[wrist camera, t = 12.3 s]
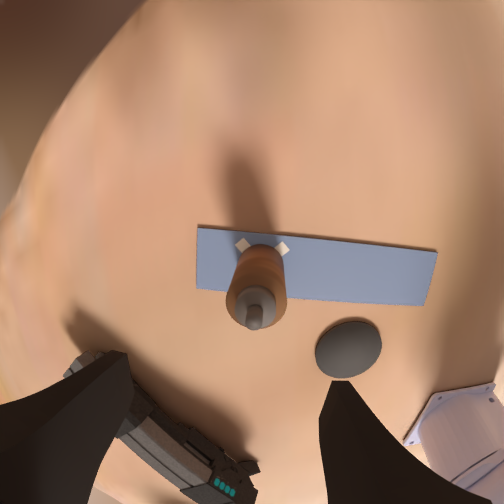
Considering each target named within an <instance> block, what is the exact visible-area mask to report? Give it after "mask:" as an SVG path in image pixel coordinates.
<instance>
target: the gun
mask: <svg viewBox="0 0 504 504" xmlns="http://www.w3.org/2000/svg"><path fill="white" fill-rule="evenodd" d="M103 355H105V354H104V353H101V352H99V353H98V354H97V355H96V356H95V358H94V357H93V356H92V355H91V353H90V352H89V351H86V352H85V353H83V354H82V355H80V356H79V357H77V358H76V359H75V360H74V362H73V363H72V364H71V365H70V368H68V369H67V371H66V372H65V373H64V375H63V377H64V378H67V377H68V376H70V375H72V374H74V373H75V372H77V371H79V370H80V369H82V368H84V367H85V366H87V365H88V364H90V363H92V362H93V361H95V360H96V359H98V358H100V357H101V356H103ZM132 383H133V388H134V392H135V394H134V397H133V399H132V402H131V405H130V407H129V410H128V413H127V415H126V417H125V419H124V421H123V423H122V425H121V426H120V428H119V430H118V432H117V434H116V436H115V437H116V438H117V439H118V438H119V439H120V440H121V441H123V442H124V443H125V444H126V445H127V446H128V447H129V448H130V449H131V450H132V451H133V452H135V453H136V454H137V455H138V456H139V457H140V458H141V459H143V460H144V461H145V462H146V463H147V464H148V465H150V466H151V467H152V468H153V469H155V470H156V471H157V472H158V473H160V474H161V475H162V476H163V477H165V478H166V479H167V480H169V481H170V482H171V483H173V484H174V485H175V486H177V487H178V488H179V489H180V492H182V493H183V494H185V495H186V496H188V497H189V498H190V499H192V500H193V501H195V502H196V503H198V504H255V501H256V497H257V493H258V490H257V489H255V488H254V487H253V486H254V485H253V483H252V482H251V480H250V478H249V476H251V475H254V474H257V473H260V472H261V471H260V469H259V467H258V464H257V462H255V461H247V462H242V463H236V462H235V461H234V460H232V459H231V458H230V457H228V456H227V455H226V454H224V453H225V452H224V450H223V449H222V448H221V447H220V448H219V447H218V448H217V447H216V446H214V445H213V444H212V443H211V442H210V441H208V440H207V439H206V438H205V437H204V436H202V435H201V434H200V433H199V432H198V431H197V430H196V429H194V428H193V427H192V428H190V429H187V428H186V427H185V426H184V425H183V424H182V423H181V422H180V423H178V424H175V423H174V422H173V421H172V420H171V419H170V418H169V417H168V416H167V415H166V414H165V413H164V412H163V411H161V410H160V409H159V408H158V407H157V406H156V405H155V404H156V403H155V402H154V401H153V400H152V399H151V398H150V397H149V396H148V395H147V394H146V393H145V392H144V391H143V390H142V389H141V388H140V387H139V386H138V385H137V384H136V383H135V382H134V380H133V379H132Z"/></svg>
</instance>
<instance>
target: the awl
mask: <svg viewBox="0 0 504 504" xmlns="http://www.w3.org/2000/svg"><path fill="white" fill-rule="evenodd" d="M226 307H227V310H228V312H229V314H230V316H231V317H232V318H233V319H234V320H235V321H236V322H237V323H239V324H240V325H242V326H245V327H247V328H248V329H250V330H258V329H263V328H267V327H270V326H272V325H274V324H275V323H277V322H278V321H279V320H280V319H281V318H282V316H283V315H284V313H285V311H286V307H287V296H286V284H285V274H284V263H283V259H282V257H281V255H280V253H279V252H278V251H277V250H276V249H275V248H273V247H271V246H269V245H265V244H256V245H252V246H250V247H248V248H247V249H245V250H244V251H243V253H242V254H241V256H240V258H239V260H238V263H237V266H236V269H235V272H234V275H233V278H232V280H231V283H230V286H229V289H228V292H227V295H226Z"/></svg>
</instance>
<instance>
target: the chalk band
mask: <svg viewBox="0 0 504 504" xmlns="http://www.w3.org/2000/svg"><path fill="white" fill-rule="evenodd" d="M256 244H265V245H269V246H271V247H273V248H275V249H276V250H277V251H278V252H279V253H280V255H281V257H282V259H283V263H284V274H285V284H286V296H287V298H297V299H309V300H322V301H336V302H352V303H369V304H388V305H411V306H424V303H425V299H426V296H427V293H428V289H429V286H430V282H431V278H432V275H433V271H434V267H435V263H436V259H437V254H438V253H437V252H430V251H422V250H414V249H406V248H397V247H389V246H380V245H371V244H362V243H353V242H344V241H335V240H325V239H316V238H306V237H296V236H286V235H275V234H265V233H254V232H243V231H232V230H220V229H209V228H198V235H197V288H198V289H207V290H215V291H224V292H228V289H229V286H230V283H231V280H232V278H233V275H234V272H235V269H236V266H237V263H238V260H239V258H240V256H241V254H242V253H243V251H244V250H245V249H247V248H248V247H250V246H252V245H256Z"/></svg>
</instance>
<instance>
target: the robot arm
mask: <svg viewBox="0 0 504 504" xmlns="http://www.w3.org/2000/svg"><path fill="white" fill-rule="evenodd" d="M495 386H496V384H495V383H494V382H492V383H488V384H484V385H479V386H474V387H469V388H463V389H458V390H452V391H445V392H439V393H435V394H433V395H432V396H431V398H430V400H429V401H428V403H427V405H426V407H425V408H424V410H423V412H422V413H421V415H420V417H419V418H418V420H417V422H416V423H415V425H414V426H413V428H412V429H411V431H410V432H409V434H408V436H407V437H406V438H405V440H404V441H403V445H404V446H408V445H414V444H419V443H421V444H422V447H423V449H424V452H425V454H426V457H427V459H428V462H429V465H430V467H431V469H430V468H428V467H427V466H426V465H424V464H423V463H422V462H420V461H419V460H418V459H417V458H416V457H415V456H413V455H412V454H411V453H410V452H409V451H408V450H407V449H405V448H404V447H403V446H402V445H401V444H400V443H399V442H398V441H397V440H396V439H395V437H394V436H393V435H392V434H391V433H390V432H389V431H388V430H387V429H386V428H385V427H384V425H383V424H382V423H381V422H380V421H379V419H378V418H377V417H376V416H375V414H374V413H373V412H372V411H371V409H370V408H369V407H368V406H367V404H366V403H365V402H364V400H363V399H362V398H361V396H360V395H359V394H358V392H357V391H356V390H355V388H354V387H353V386H352V384H351V383H350V382H349V381H332V382H331V385H330V388H329V391H328V394H327V397H326V400H325V402H324V405H323V408H322V411H321V414H320V416H319V443H320V449H321V456H322V462H323V468H324V475H325V481H326V488H327V496H328V504H504V406H503V405H502V403H501V402H500V401H499V399H498V398H497V396H496V395H495V394H494V392H493V390H494V388H495ZM134 394H135V392H134V388H133V383H132V378H131V373H130V368H129V363H128V358H127V354H126V353H122V352H118V351H114V350H112V351H110V352H108V353H106V354H105V355H103V356H101V357H100V358H98V359H96V360H95V361H93V362H92V363H90V364H88V365H87V366H85V367H84V368H82V369H80V370H79V371H77V372H75V373H74V374H72V375H70V376H68V377H67V378H65V379H63V380H61V381H59V382H57V383H55V384H53V385H52V386H50V387H48V388H46V389H44V390H42V391H39V392H37V393H35V394H32V395H30V396H27V397H25V398H22V399H19V400H16V401H12V402H9V403H5V404H2V405H0V504H87V503H88V500H89V496H90V493H91V489H92V486H93V483H94V480H95V478H96V475H97V472H98V469H99V467H100V464H101V462H102V460H103V458H104V456H105V454H106V452H107V450H108V448H109V447H110V445H111V443H112V441H113V439H114V437H115V436H116V434H117V432H118V430H119V428H120V426H121V425H122V423H123V421H124V419H125V417H126V415H127V413H128V410H129V407H130V405H131V402H132V399H133V397H134Z"/></svg>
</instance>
